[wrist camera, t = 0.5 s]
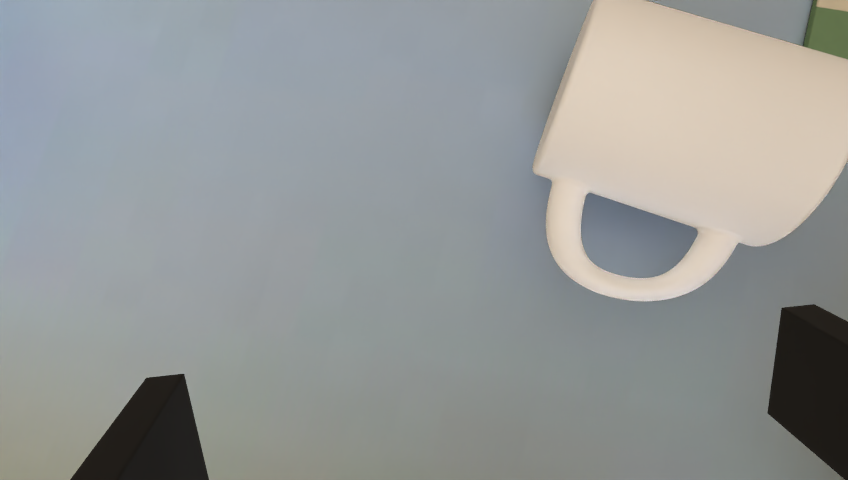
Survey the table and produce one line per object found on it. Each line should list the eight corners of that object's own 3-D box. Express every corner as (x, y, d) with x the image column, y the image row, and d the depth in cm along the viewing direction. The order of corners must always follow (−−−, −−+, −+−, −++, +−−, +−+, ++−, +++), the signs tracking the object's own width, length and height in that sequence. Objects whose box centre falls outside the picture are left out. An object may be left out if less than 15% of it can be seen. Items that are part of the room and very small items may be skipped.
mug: (577, 34, 27) (616, -54, 19) (775, 95, 26) (902, 26, 18) (497, 257, 28) (504, 259, 20) (691, 326, 26) (781, 357, 19)
